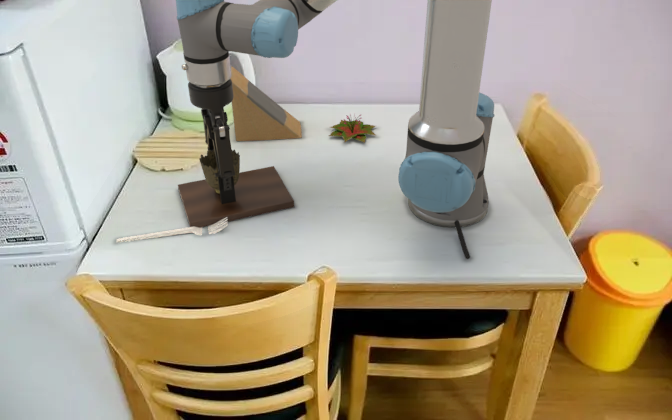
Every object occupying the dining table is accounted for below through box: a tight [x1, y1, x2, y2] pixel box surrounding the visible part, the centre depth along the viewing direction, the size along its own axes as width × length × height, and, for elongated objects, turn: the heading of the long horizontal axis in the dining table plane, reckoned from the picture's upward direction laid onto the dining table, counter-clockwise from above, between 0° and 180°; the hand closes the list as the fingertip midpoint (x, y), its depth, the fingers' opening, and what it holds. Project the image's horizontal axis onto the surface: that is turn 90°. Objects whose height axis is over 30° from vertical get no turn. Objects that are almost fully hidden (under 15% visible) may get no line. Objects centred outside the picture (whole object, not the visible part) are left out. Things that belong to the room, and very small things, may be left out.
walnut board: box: [177, 165, 295, 228], centre depth 117 cm, size 14×20×2 cm
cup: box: [199, 148, 241, 195], centre depth 114 cm, size 8×7×8 cm
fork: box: [115, 217, 229, 244], centre depth 108 cm, size 3×20×2 cm, turn 103°
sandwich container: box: [230, 66, 303, 142], centre depth 137 cm, size 9×15×15 cm, turn 95°
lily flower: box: [328, 114, 376, 143], centre depth 139 cm, size 12×12×5 cm
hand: (224, 191), depth 116 cm, fingers closed on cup, 7 cm apart
